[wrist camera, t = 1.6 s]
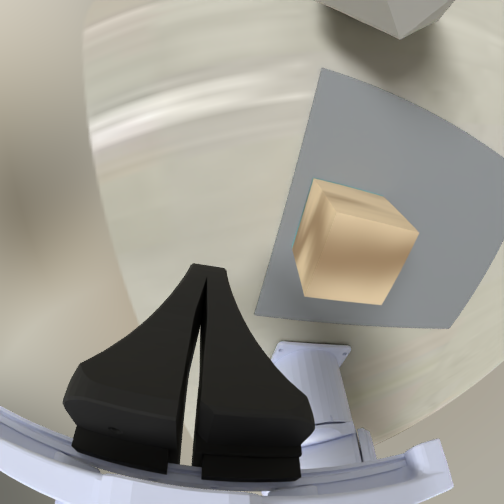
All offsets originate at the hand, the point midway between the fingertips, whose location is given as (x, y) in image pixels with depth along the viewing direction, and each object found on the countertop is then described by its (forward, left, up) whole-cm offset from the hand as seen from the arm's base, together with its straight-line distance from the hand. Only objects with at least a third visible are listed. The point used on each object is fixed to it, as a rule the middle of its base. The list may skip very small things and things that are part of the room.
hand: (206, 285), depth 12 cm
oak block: (0, -8, -9) cm, 12 cm away
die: (+17, -5, -10) cm, 20 cm away
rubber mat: (0, -16, -9) cm, 19 cm away
